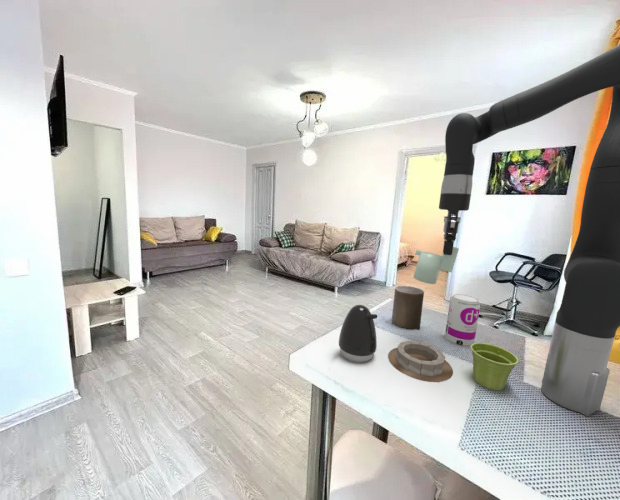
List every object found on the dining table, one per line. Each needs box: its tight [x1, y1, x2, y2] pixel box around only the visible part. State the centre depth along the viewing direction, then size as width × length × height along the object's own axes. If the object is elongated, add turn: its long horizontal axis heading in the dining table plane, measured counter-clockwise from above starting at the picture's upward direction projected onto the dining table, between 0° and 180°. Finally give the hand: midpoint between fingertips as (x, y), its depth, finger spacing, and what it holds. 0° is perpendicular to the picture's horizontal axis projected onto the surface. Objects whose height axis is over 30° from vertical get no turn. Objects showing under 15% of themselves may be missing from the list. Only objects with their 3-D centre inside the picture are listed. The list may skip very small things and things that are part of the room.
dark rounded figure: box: [338, 304, 378, 363], centre depth 72 cm, size 10×10×15 cm
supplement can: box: [444, 293, 481, 347], centre depth 84 cm, size 8×8×15 cm
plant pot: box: [470, 342, 519, 391], centre depth 64 cm, size 9×9×9 cm
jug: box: [413, 246, 460, 285], centre depth 79 cm, size 11×6×12 cm, turn 65°
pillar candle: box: [391, 285, 425, 331], centre depth 94 cm, size 10×10×15 cm
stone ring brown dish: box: [387, 340, 454, 383], centre depth 71 cm, size 16×16×4 cm
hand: (447, 253), depth 77 cm, fingers closed on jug, 2 cm apart
